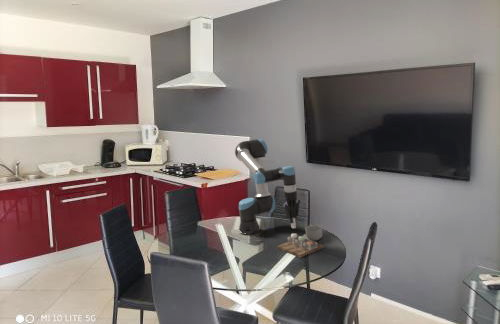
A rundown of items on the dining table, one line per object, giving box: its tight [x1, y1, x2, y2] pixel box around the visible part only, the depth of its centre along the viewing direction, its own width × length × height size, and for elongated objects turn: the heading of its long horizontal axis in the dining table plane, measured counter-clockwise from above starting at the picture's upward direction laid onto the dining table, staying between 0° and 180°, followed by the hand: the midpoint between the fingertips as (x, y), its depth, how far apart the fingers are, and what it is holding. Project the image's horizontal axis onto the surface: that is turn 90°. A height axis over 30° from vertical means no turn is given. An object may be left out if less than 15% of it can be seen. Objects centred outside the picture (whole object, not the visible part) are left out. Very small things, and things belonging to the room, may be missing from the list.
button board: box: [277, 235, 324, 258], centre depth 228 cm, size 20×19×5 cm
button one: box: [290, 233, 298, 239], centre depth 234 cm, size 4×4×3 cm
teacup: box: [304, 224, 323, 242], centre depth 242 cm, size 14×11×8 cm
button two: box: [298, 235, 306, 242], centre depth 229 cm, size 4×4×3 cm
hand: (293, 227), depth 233 cm, fingers closed
